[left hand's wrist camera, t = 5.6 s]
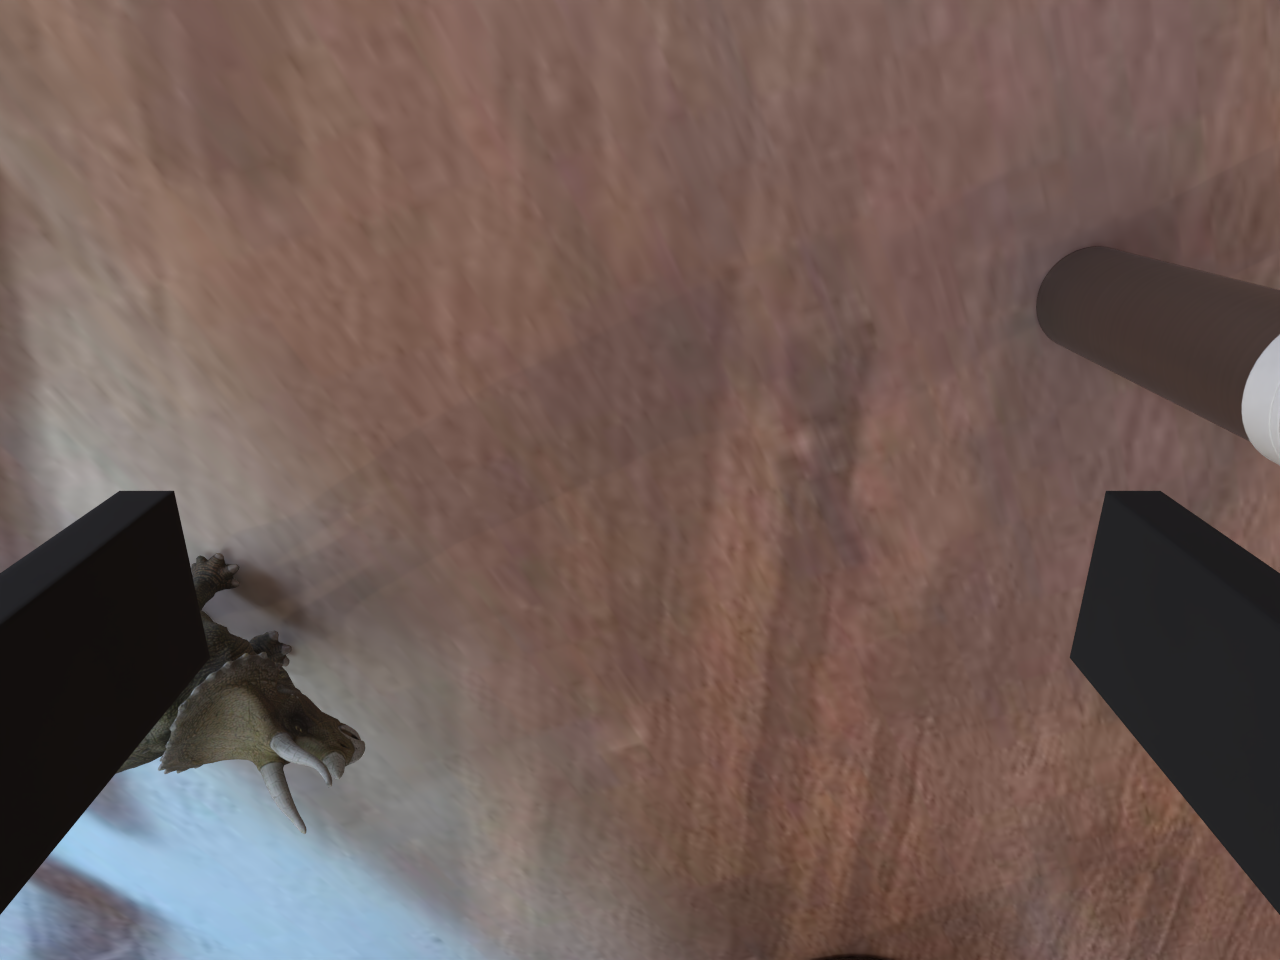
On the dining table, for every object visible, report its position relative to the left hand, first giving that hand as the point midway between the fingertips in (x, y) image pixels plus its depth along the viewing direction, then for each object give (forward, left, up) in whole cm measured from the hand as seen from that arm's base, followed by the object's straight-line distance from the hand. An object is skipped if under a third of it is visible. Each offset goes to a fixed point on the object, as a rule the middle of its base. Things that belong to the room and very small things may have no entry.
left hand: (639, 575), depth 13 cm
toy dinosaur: (-18, +24, -28) cm, 41 cm away
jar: (-1, -20, -28) cm, 34 cm away
